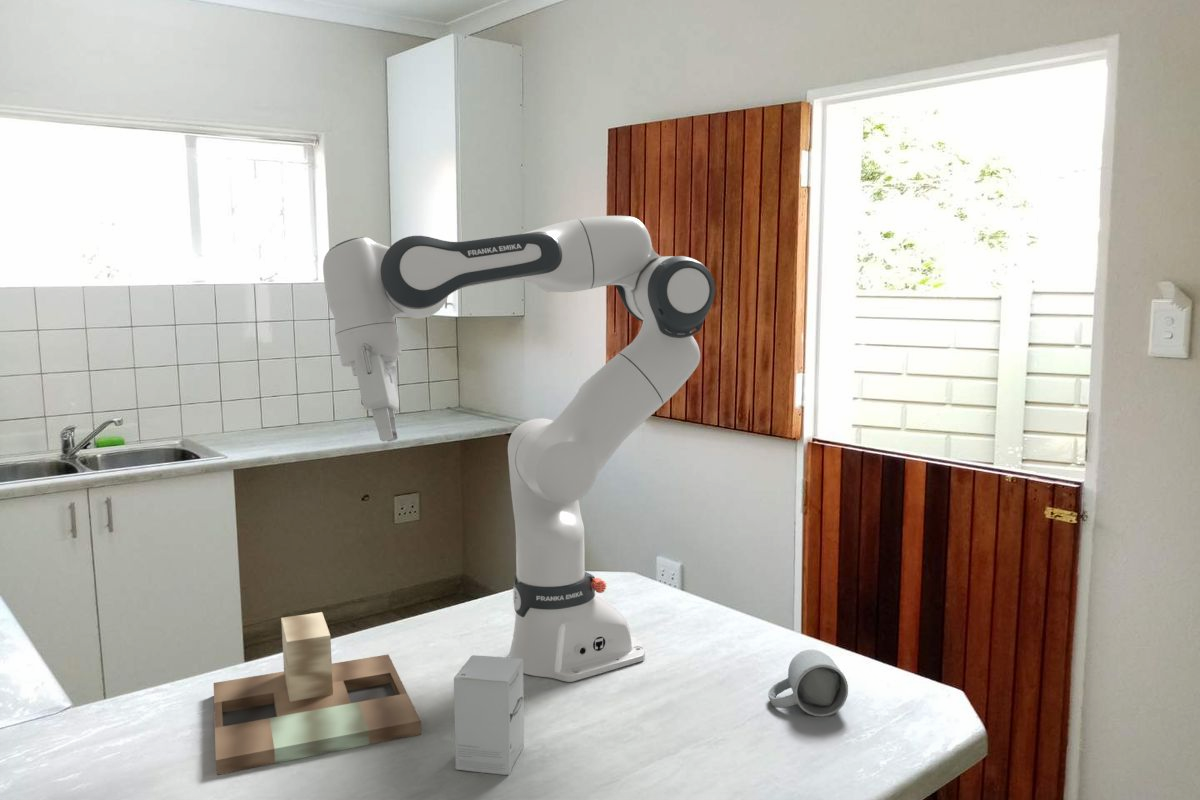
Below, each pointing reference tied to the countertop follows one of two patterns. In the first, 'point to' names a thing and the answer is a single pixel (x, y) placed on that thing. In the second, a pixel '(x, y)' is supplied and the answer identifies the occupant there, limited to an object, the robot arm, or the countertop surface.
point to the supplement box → (489, 714)
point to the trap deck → (310, 715)
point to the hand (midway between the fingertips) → (389, 440)
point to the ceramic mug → (812, 685)
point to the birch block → (307, 656)
